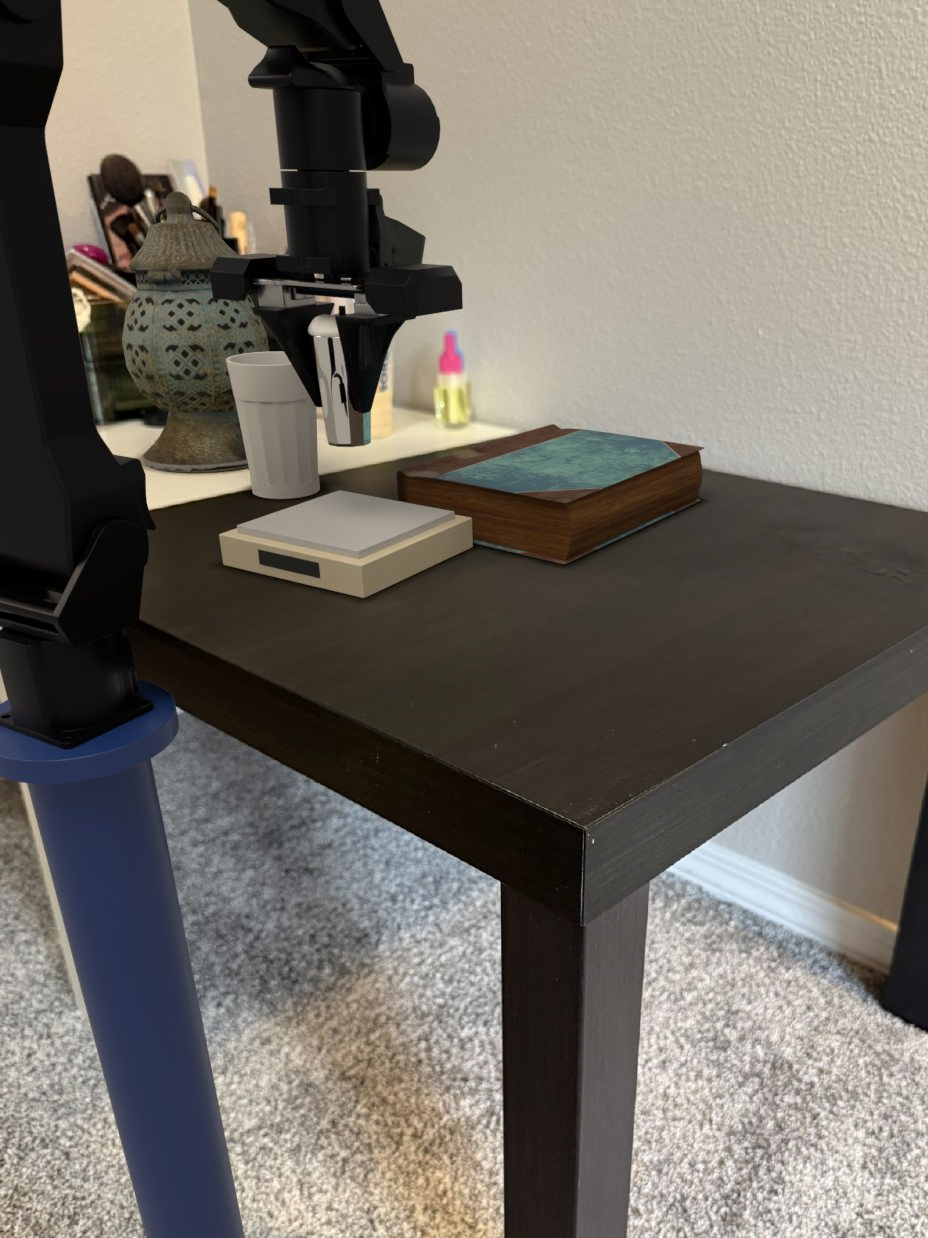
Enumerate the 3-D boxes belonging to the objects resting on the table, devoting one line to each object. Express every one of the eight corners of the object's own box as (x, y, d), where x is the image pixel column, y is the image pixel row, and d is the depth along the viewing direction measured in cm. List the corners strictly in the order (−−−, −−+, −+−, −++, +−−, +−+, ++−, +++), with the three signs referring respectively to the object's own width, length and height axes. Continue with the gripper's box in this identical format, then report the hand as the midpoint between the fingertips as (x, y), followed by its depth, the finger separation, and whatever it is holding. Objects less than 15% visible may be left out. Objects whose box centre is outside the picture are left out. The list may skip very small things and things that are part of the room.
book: (549, 473, 110) (550, 422, 108) (703, 501, 102) (707, 447, 99) (398, 526, 94) (395, 468, 91) (567, 565, 85) (568, 502, 83)
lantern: (114, 457, 114) (64, 190, 102) (225, 434, 124) (192, 188, 112) (196, 479, 106) (153, 193, 95) (308, 453, 116) (281, 191, 105)
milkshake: (321, 453, 79) (307, 306, 74) (316, 437, 83) (303, 297, 79) (384, 450, 80) (374, 304, 75) (376, 435, 84) (366, 296, 80)
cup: (338, 480, 107) (327, 352, 101) (314, 502, 100) (301, 366, 94) (260, 477, 107) (244, 350, 102) (230, 499, 100) (212, 363, 95)
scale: (363, 599, 78) (360, 557, 77) (222, 565, 84) (216, 526, 83) (473, 547, 89) (472, 510, 87) (341, 520, 95) (337, 485, 94)
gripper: (504, 173, 75) (507, 405, 83) (301, 169, 83) (320, 381, 91) (405, 173, 67) (419, 432, 74) (190, 169, 75) (221, 402, 82)
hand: (343, 409), depth 80 cm, fingers closed on milkshake, 4 cm apart
